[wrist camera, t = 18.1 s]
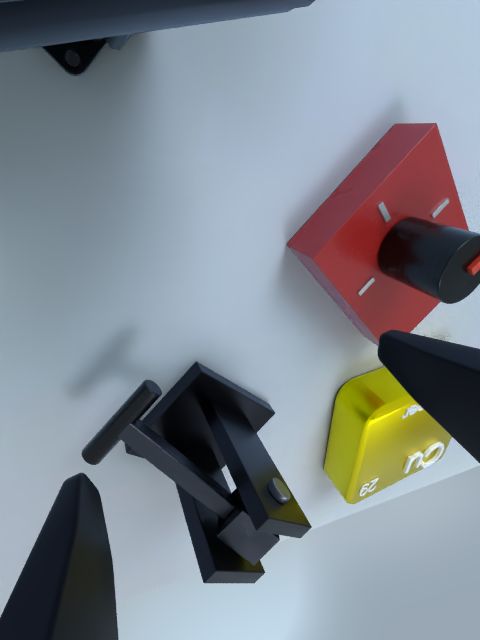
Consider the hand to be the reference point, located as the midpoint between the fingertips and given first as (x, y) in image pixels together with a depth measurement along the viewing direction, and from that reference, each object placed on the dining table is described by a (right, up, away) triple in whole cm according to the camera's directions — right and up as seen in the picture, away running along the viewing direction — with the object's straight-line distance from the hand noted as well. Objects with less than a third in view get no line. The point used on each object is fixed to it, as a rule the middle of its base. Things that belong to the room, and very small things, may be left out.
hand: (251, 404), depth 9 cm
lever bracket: (-3, -6, +17) cm, 18 cm away
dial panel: (+10, +8, +16) cm, 20 cm away
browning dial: (+10, +7, +12) cm, 18 cm away
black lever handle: (-3, -7, +11) cm, 13 cm away
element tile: (+16, -8, +28) cm, 33 cm away
